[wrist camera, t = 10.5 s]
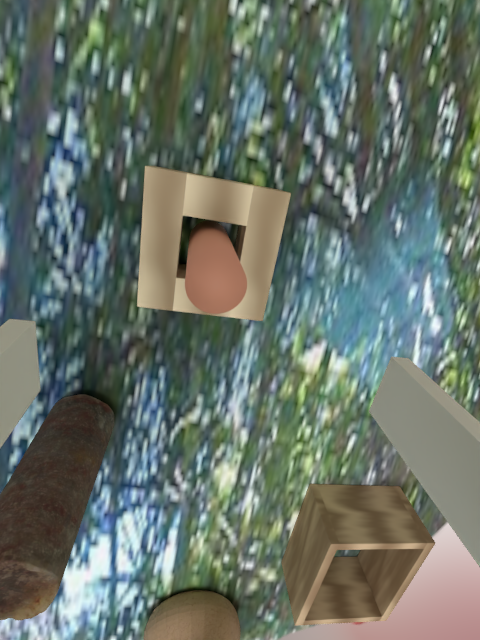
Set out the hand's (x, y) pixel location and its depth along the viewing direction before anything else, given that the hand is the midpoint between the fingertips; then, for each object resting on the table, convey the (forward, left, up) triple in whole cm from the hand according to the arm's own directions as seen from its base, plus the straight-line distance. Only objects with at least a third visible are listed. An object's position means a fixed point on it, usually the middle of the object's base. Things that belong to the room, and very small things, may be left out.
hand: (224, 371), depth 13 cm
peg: (0, 0, -24) cm, 24 cm away
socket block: (0, 0, -24) cm, 24 cm away
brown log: (-12, -23, -24) cm, 35 cm away
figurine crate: (+28, -44, -24) cm, 57 cm away
